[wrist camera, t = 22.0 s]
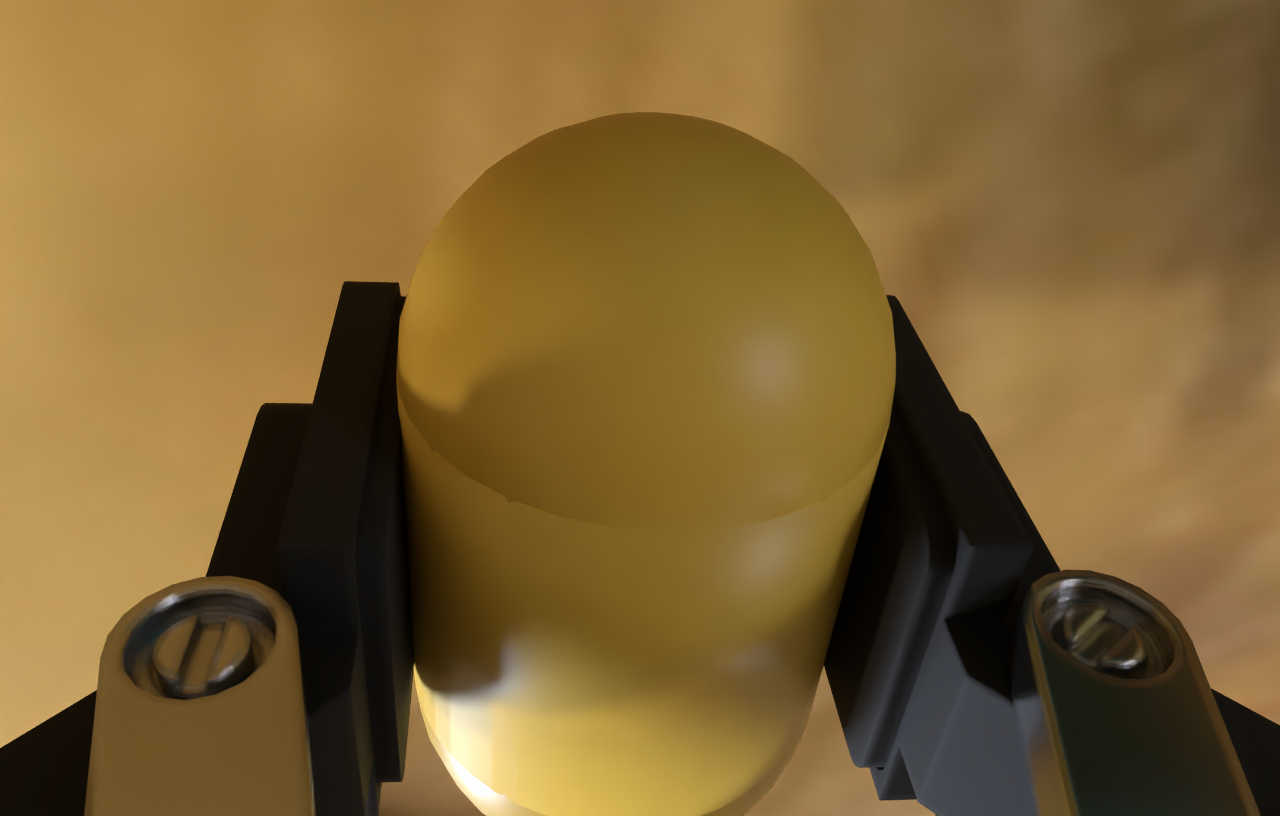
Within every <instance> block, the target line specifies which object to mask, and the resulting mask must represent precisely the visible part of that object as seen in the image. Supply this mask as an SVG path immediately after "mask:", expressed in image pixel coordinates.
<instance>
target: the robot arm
mask: <svg viewBox="0 0 1280 816" xmlns="http://www.w3.org/2000/svg"><path fill="white" fill-rule="evenodd" d="M886 297H887V300H888V303H889V306H890V309H891V312H892V318H893V329H894V340H895V351H896V382H895V389H894V396H893V403H892V409H891V416H890V423H889V427H888V431H887V434H886V438H885V442H884V445H883V449H882V453H881V456H880V460H879V464H878V467H877V471H876V475H875V478H874V482H873V486H872V489H871V493H870V497H869V500H868V504H867V507H866V511H865V515H864V518H863V522H862V526H861V529H860V533H859V537H858V540H857V544H856V548H855V551H854V555H853V559H852V562H851V566H850V570H849V573H848V577H847V581H846V584H845V588H844V592H843V595H842V599H841V602H840V606H839V610H838V613H837V617H836V621H835V624H834V628H833V632H832V635H831V639H830V643H829V646H828V650H827V654H826V657H825V661H824V667H825V670H826V674H827V677H828V681H829V684H830V688H831V691H832V694H833V698H834V701H835V705H836V708H837V711H838V715H839V718H840V722H841V725H842V728H843V732H844V735H845V739H846V742H847V746H848V749H849V752H850V755H851V758H852V761H853V762H854V764H855V765H856V766H857V767H859V768H862V767H870V771H871V774H872V777H873V780H874V784H875V787H876V790H877V793H878V797H879V800H909V799H917V801H918V802H919V803H921V804H922V805H924V806H925V807H927V808H928V809H930V810H931V811H932V812H934V813H935V814H936V815H935V816H1280V725H1278V724H1276V723H1274V722H1272V721H1271V720H1269V719H1267V718H1265V717H1263V716H1261V715H1259V714H1258V713H1256V712H1254V711H1252V710H1250V709H1248V708H1246V707H1245V706H1243V705H1241V704H1239V703H1237V702H1235V701H1233V700H1232V699H1230V698H1228V697H1226V696H1224V695H1222V694H1221V693H1219V692H1217V691H1215V690H1213V689H1211V688H1210V685H1209V683H1208V680H1207V678H1206V675H1205V673H1204V670H1203V668H1202V665H1201V663H1200V660H1199V658H1198V655H1197V653H1196V650H1195V648H1194V645H1193V642H1192V640H1191V638H1190V637H1189V635H1188V633H1187V632H1186V630H1185V628H1184V627H1183V625H1182V623H1181V621H1180V620H1179V619H1178V618H1177V617H1176V616H1175V615H1174V614H1173V613H1172V612H1171V611H1170V610H1169V609H1168V608H1167V607H1166V606H1165V605H1164V604H1163V603H1162V602H1160V601H1159V600H1157V599H1156V598H1154V597H1153V596H1151V595H1150V594H1148V593H1147V592H1145V591H1144V590H1143V589H1141V588H1139V587H1137V586H1135V585H1133V584H1130V583H1128V582H1126V581H1124V580H1121V579H1119V578H1117V577H1114V576H1110V575H1106V574H1102V573H1098V572H1094V571H1090V570H1063V571H1060V569H1059V567H1058V565H1057V564H1056V562H1055V560H1054V558H1053V557H1052V555H1051V553H1050V551H1049V550H1048V548H1047V546H1046V544H1045V543H1044V541H1043V539H1042V537H1041V535H1040V534H1039V532H1038V530H1037V528H1036V527H1035V525H1034V523H1033V521H1032V520H1031V518H1030V516H1029V514H1028V513H1027V511H1026V509H1025V507H1024V506H1023V504H1022V502H1021V500H1020V498H1019V497H1018V495H1017V493H1016V491H1015V490H1014V488H1013V486H1012V484H1011V483H1010V481H1009V479H1008V477H1007V476H1006V474H1005V472H1004V470H1003V469H1002V467H1001V465H1000V463H999V461H998V460H997V458H996V456H995V454H994V453H993V451H992V449H991V447H990V446H989V444H988V442H987V440H986V439H985V437H984V435H983V433H982V432H981V430H980V428H979V426H978V424H977V423H976V422H975V420H974V419H973V418H972V417H971V415H970V414H967V413H965V412H962V411H959V409H958V407H957V405H956V403H955V402H954V400H953V398H952V396H951V394H950V393H949V391H948V389H947V387H946V385H945V383H944V382H943V380H942V378H941V376H940V374H939V373H938V371H937V369H936V367H935V365H934V364H933V362H932V360H931V358H930V356H929V355H928V353H927V351H926V349H925V347H924V346H923V344H922V342H921V340H920V338H919V337H918V335H917V333H916V331H915V329H914V328H913V326H912V324H911V322H910V320H909V319H908V317H907V315H906V313H905V311H904V310H903V308H902V306H901V304H900V302H899V301H898V299H897V298H896V297H895V296H892V295H886ZM405 301H406V297H403V296H401V294H400V287H399V284H398V283H391V282H351V281H346V282H344V284H343V286H342V290H341V294H340V298H339V302H338V306H337V310H336V314H335V318H334V322H333V326H332V330H331V334H330V338H329V341H328V345H327V349H326V353H325V357H324V361H323V365H322V369H321V373H320V377H319V381H318V385H317V389H316V393H315V397H314V401H313V404H301V403H265V404H263V405H262V406H261V408H260V410H259V412H258V414H257V417H256V420H255V423H254V426H253V429H252V433H251V436H250V439H249V442H248V445H247V448H246V451H245V455H244V458H243V461H242V464H241V467H240V470H239V474H238V477H237V480H236V483H235V486H234V489H233V492H232V496H231V499H230V502H229V505H228V508H227V511H226V515H225V518H224V521H223V524H222V527H221V530H220V533H219V537H218V540H217V543H216V546H215V549H214V552H213V555H212V559H211V562H210V565H209V568H208V571H207V574H206V577H200V578H196V579H192V580H188V581H185V582H181V583H177V584H173V585H171V586H169V587H166V588H164V589H162V590H160V591H158V592H156V593H154V594H152V595H150V596H148V597H146V598H144V599H143V600H142V601H141V602H139V603H138V604H137V605H135V606H134V607H133V608H131V609H130V610H129V611H128V612H126V613H125V614H124V615H123V616H122V617H121V619H120V620H119V621H118V623H117V624H116V625H115V627H114V628H113V629H112V630H111V632H110V633H109V634H108V636H107V639H106V642H105V645H104V648H103V651H102V655H101V658H100V667H99V677H98V686H97V690H96V691H94V692H93V693H91V694H89V695H88V696H86V697H84V698H83V699H81V700H80V701H78V702H76V703H75V704H73V705H71V706H70V707H68V708H66V709H65V710H63V711H61V712H60V713H58V714H56V715H55V716H53V717H51V718H50V719H48V720H46V721H45V722H43V723H41V724H40V725H38V726H36V727H35V728H33V729H31V730H30V731H28V732H26V733H25V734H23V735H21V736H20V737H18V738H16V739H15V740H13V741H11V742H10V743H8V744H7V745H5V746H3V747H2V748H0V816H378V813H379V804H380V795H381V786H382V782H402V780H403V776H404V768H405V758H406V747H407V736H408V726H409V715H410V704H411V694H412V683H413V672H414V646H413V629H412V612H411V594H410V577H409V560H408V543H407V526H406V509H405V492H404V475H403V457H402V440H401V423H400V418H399V413H398V397H397V380H396V379H397V355H398V339H399V323H400V317H401V314H402V310H403V307H404V304H405Z"/></svg>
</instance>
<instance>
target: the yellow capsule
mask: <svg viewBox="0 0 1280 816" xmlns="http://www.w3.org/2000/svg"><path fill="white" fill-rule="evenodd" d="M396 380H397V397H398V413H399V418H400V423H401V440H402V457H403V475H404V492H405V509H406V526H407V543H408V560H409V577H410V594H411V612H412V629H413V646H414V676H415V685H416V689H417V694H418V699H419V703H420V708H421V711H422V715H423V718H424V721H425V725H426V728H427V732H428V735H429V738H430V741H431V742H432V744H433V746H434V748H435V749H436V751H437V753H438V754H439V756H440V758H441V760H442V761H443V763H444V765H445V766H446V768H447V770H448V771H449V773H450V775H451V776H452V778H453V779H454V781H455V783H456V784H457V786H458V787H459V789H460V790H461V791H462V792H463V793H464V794H465V795H466V796H467V797H468V798H469V799H470V800H471V802H472V803H473V804H474V805H475V806H476V807H477V808H478V809H479V810H480V811H481V812H482V813H483V814H484V815H486V816H743V815H744V814H745V813H747V812H748V811H749V810H750V809H751V808H752V807H753V806H754V805H755V804H756V803H757V802H758V801H759V800H760V799H761V798H762V797H763V796H764V795H765V794H766V793H767V792H768V791H769V790H770V789H771V788H772V787H773V785H774V784H775V782H776V781H777V779H778V778H779V776H780V775H781V773H782V772H783V770H784V769H785V767H786V766H787V764H788V763H789V761H790V760H791V758H792V756H793V753H794V751H795V749H796V747H797V745H798V742H799V740H800V738H801V735H802V733H803V731H804V729H805V727H806V724H807V721H808V718H809V715H810V711H811V708H812V705H813V701H814V697H815V694H816V690H817V687H818V683H819V679H820V676H821V672H822V668H823V665H824V661H825V657H826V654H827V650H828V646H829V643H830V639H831V635H832V632H833V628H834V624H835V621H836V617H837V613H838V610H839V606H840V602H841V599H842V595H843V592H844V588H845V584H846V581H847V577H848V573H849V570H850V566H851V562H852V559H853V555H854V551H855V548H856V544H857V540H858V537H859V533H860V529H861V526H862V522H863V518H864V515H865V511H866V507H867V504H868V500H869V497H870V493H871V489H872V486H873V482H874V478H875V475H876V471H877V467H878V464H879V460H880V456H881V453H882V449H883V445H884V442H885V438H886V434H887V431H888V427H889V423H890V416H891V409H892V403H893V396H894V389H895V382H896V351H895V340H894V329H893V318H892V312H891V309H890V306H889V303H888V300H887V297H886V294H885V291H884V288H883V285H882V282H881V279H880V276H879V273H878V270H877V268H876V265H875V262H874V259H873V257H872V254H871V251H870V249H869V248H868V246H867V244H866V243H865V241H864V240H863V238H862V237H861V235H860V233H859V232H858V230H857V229H856V227H855V226H854V224H853V222H852V221H851V219H850V218H849V216H848V215H847V213H846V212H845V211H844V209H843V208H842V207H841V205H840V204H839V203H838V201H837V200H836V199H835V198H834V197H833V196H832V195H831V194H830V193H829V192H828V191H827V190H826V189H825V188H824V187H823V186H822V185H821V184H820V183H819V182H817V181H816V180H815V179H814V178H813V177H812V176H811V175H810V174H809V173H808V172H807V171H806V170H805V169H804V168H802V167H801V166H800V165H799V164H798V163H796V162H795V161H794V160H793V159H792V158H790V157H788V156H787V155H785V154H783V153H782V152H780V151H778V150H776V149H775V148H773V147H771V146H769V145H767V144H765V143H763V142H761V141H759V140H757V139H756V138H754V137H752V136H750V135H748V134H746V133H744V132H741V131H739V130H737V129H734V128H732V127H730V126H727V125H723V124H720V123H717V122H714V121H710V120H706V119H702V118H697V117H692V116H685V115H679V114H669V113H657V112H636V113H621V114H614V115H608V116H603V117H599V118H595V119H592V120H588V121H585V122H581V123H577V124H574V125H570V126H567V127H563V128H559V129H556V130H553V131H551V132H549V133H546V134H544V135H542V136H540V137H537V138H536V139H534V140H532V141H531V142H529V143H527V144H526V145H524V146H522V147H521V148H519V149H518V150H516V151H514V152H513V153H511V154H509V155H508V156H506V157H504V158H503V159H502V160H500V161H499V162H497V163H496V164H494V165H493V166H492V167H490V168H489V169H487V170H486V171H485V172H484V173H483V174H482V175H481V176H480V177H479V178H478V179H477V180H476V181H475V182H474V183H473V184H472V185H471V186H470V187H469V188H468V189H467V190H466V191H465V193H464V194H463V195H462V196H461V197H460V198H459V199H458V200H457V201H456V202H455V203H454V204H453V206H452V207H451V208H450V209H449V211H448V212H447V213H446V214H445V216H444V217H443V218H442V220H441V222H440V223H439V225H438V227H437V228H436V230H435V232H434V233H433V235H432V237H431V238H430V240H429V242H428V243H427V245H426V247H425V248H424V250H423V252H422V253H421V255H420V258H419V261H418V264H417V267H416V270H415V272H414V275H413V278H412V281H411V285H410V288H409V291H408V294H407V297H406V301H405V304H404V307H403V310H402V314H401V317H400V323H399V339H398V355H397V379H396Z"/></svg>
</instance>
